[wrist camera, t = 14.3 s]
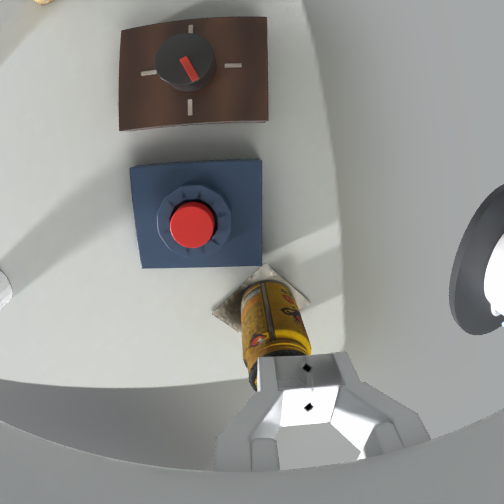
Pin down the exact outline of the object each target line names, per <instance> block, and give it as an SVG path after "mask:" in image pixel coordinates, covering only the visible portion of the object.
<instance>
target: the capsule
mask: <svg viewBox="0 0 504 504" xmlns="http://www.w3.org/2000/svg"><path fill="white" fill-rule="evenodd" d="M11 298H12V288H11V284H10V283H9V281H8V279H7V277H6V276H5V275H4V273H3V272H1V271H0V310H1V309H2V308H3V307H4V306H5V305H6V304H7V303H8V302H9V301H10V300H11Z"/></svg>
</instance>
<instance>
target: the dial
mask: <svg viewBox="0 0 504 504" xmlns="http://www.w3.org/2000/svg"><path fill="white" fill-rule="evenodd" d="M155 69H156V71H157V73H158V75H159V76H160V77H161V78H162V79H163V80H164V81H165V82H167V83H168V84H169V85H171V86H172V87H173V88H175V89H177V90H180V91H185V92H191V91H196V90H199V89H201V88H203V87H204V86H206V85H207V84H208V83H209V82H210V81H211V80H212V78H213V77H214V74H215V71H216V61H215V57H214V54H213V50H212V47H211V45H210V44H209V42H208V41H207V40H206V39H205V38H203V37H202V36H200V35H197V34H194V33H181V34H177V35H174V36H172V37H170V38H169V39H167V40H166V41H165V42H164V43H163V44H162V45H161V46H160V47H159V49H158V50H157V53H156V56H155Z"/></svg>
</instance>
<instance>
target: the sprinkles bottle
mask: <svg viewBox="0 0 504 504" xmlns="http://www.w3.org/2000/svg"><path fill="white" fill-rule="evenodd" d="M35 1H37V3H38V4H41V5H43V4H48V3H50V2H52V1H53V0H35Z"/></svg>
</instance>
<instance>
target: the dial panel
mask: <svg viewBox="0 0 504 504" xmlns="http://www.w3.org/2000/svg"><path fill="white" fill-rule="evenodd" d="M181 33H194V34H197V35H200V36H202V37H203V38H205V39H206V40H207V41H208V42H209V44H210V45H211V47H212V50H213V54H214V57H215V61H216V71H215V74H214V77H213V78H212V80H211V81H210V82H209V83H208V84H207V85H206V86H204V87H203V88H201V89H199V90H196V91H191V92H185V91H180V90H177V89H175V88H173V87H172V86H171V85H169V84H168V83H167V82H165V81H164V80H163V79H162V78H161V77H160V76H159V75H158V73H157V71H156V69H155V56H156V53H157V50H158V49H159V47H160V46H161V45H162V44H163V43H164V42H165V41H166V40H167V39H169V38H170V37H172V36H174V35H177V34H181ZM267 121H268V48H267V17H215V18H200V19H189V20H180V21H172V22H165V23H158V24H152V25H146V26H141V27H136V28H131V29H126V30H122V31H121V42H120V60H119V131H136V130H144V129H152V128H161V127H172V126H184V125H198V124H216V123H265V122H267Z"/></svg>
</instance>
